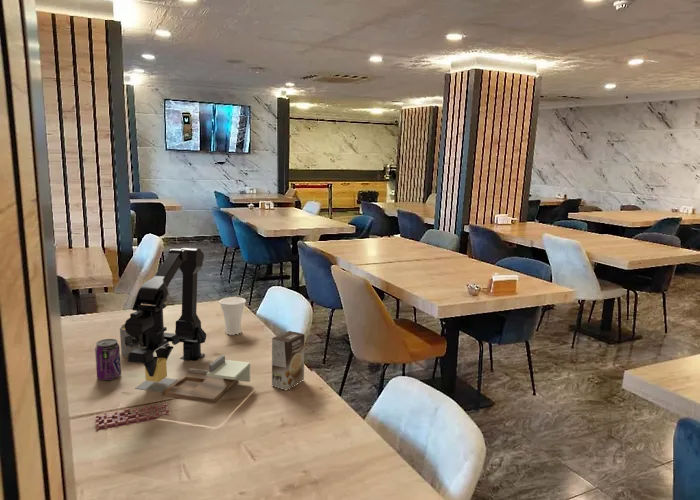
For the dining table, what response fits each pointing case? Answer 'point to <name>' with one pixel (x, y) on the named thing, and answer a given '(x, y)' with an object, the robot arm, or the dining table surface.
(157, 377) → the block
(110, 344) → the beverage can
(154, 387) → the coaster
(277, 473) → the dining table surface
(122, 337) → the coffee mug
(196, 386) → the board
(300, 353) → the food box
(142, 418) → the chocolate bar
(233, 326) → the cup
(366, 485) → the dining table surface
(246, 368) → the lid
